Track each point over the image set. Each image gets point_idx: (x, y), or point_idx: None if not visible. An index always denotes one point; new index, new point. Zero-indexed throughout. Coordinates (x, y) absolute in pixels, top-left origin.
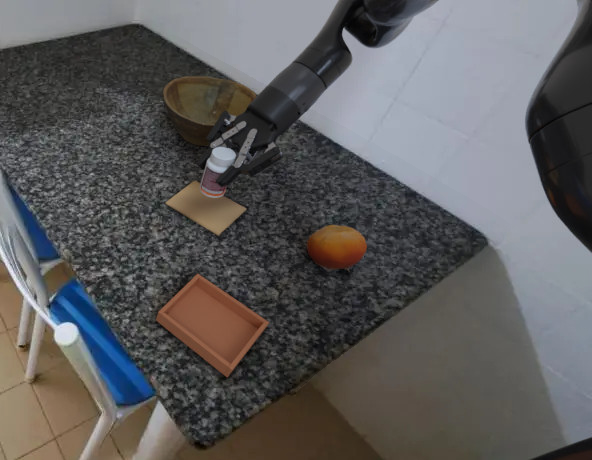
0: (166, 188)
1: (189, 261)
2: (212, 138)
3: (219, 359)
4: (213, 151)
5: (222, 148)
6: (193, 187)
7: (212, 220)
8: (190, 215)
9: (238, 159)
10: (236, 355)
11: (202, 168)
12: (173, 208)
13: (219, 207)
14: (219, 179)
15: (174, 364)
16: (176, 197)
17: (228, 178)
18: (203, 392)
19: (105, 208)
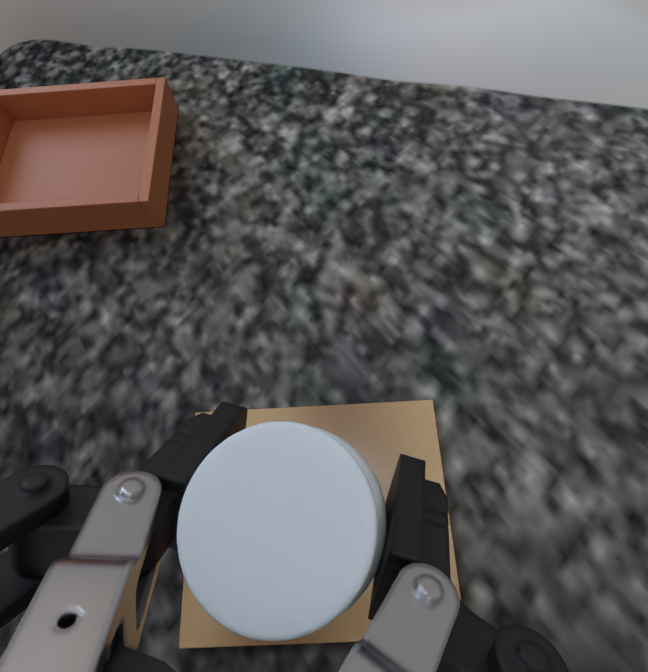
0: (500, 481)
1: (211, 267)
2: (496, 658)
3: (14, 89)
4: (351, 469)
5: (327, 581)
6: None
7: None
8: (322, 412)
9: (134, 524)
10: (5, 152)
11: (389, 490)
12: (392, 402)
13: None
14: (226, 410)
15: (102, 80)
16: (427, 456)
17: (178, 433)
18: (38, 81)
19: (532, 236)
